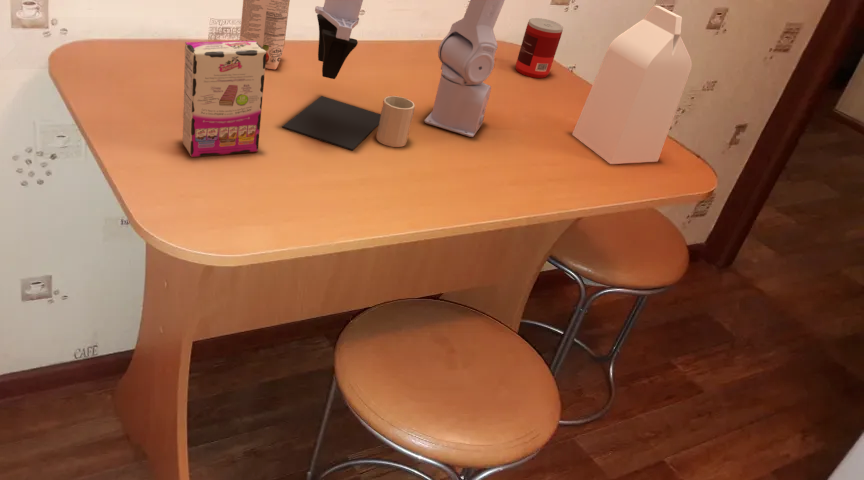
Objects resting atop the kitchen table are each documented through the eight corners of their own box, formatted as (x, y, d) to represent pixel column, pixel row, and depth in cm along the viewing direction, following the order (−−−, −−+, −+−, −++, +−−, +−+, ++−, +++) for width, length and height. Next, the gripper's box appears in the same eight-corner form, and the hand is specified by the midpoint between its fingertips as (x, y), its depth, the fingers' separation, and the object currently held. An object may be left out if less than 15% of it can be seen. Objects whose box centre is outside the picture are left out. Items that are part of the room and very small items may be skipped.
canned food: (553, 73, 181) (568, 25, 175) (540, 81, 175) (556, 32, 169) (522, 62, 184) (536, 15, 177) (509, 70, 178) (523, 21, 171)
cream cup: (410, 139, 139) (418, 102, 135) (400, 150, 135) (409, 111, 131) (382, 130, 140) (389, 93, 136) (372, 140, 136) (379, 102, 132)
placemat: (385, 117, 145) (386, 116, 145) (352, 150, 131) (352, 149, 131) (321, 97, 148) (321, 95, 147) (282, 127, 134) (282, 126, 134)
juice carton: (280, 72, 154) (291, -29, 143) (236, 65, 154) (244, -37, 143) (283, 59, 160) (295, -39, 149) (241, 51, 160) (249, -47, 149)
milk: (571, 134, 153) (619, -2, 138) (617, 132, 158) (669, 1, 143) (610, 164, 144) (665, 22, 130) (657, 161, 149) (716, 24, 134)
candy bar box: (247, 138, 129) (256, 39, 119) (258, 152, 125) (269, 51, 116) (179, 143, 124) (184, 39, 114) (189, 158, 120) (195, 52, 111)
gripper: (318, -33, 127) (299, 49, 135) (327, -10, 116) (305, 79, 123) (360, -22, 129) (339, 58, 136) (373, 2, 117) (349, 88, 124)
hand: (326, 69), depth 130 cm, fingers open, 7 cm apart
